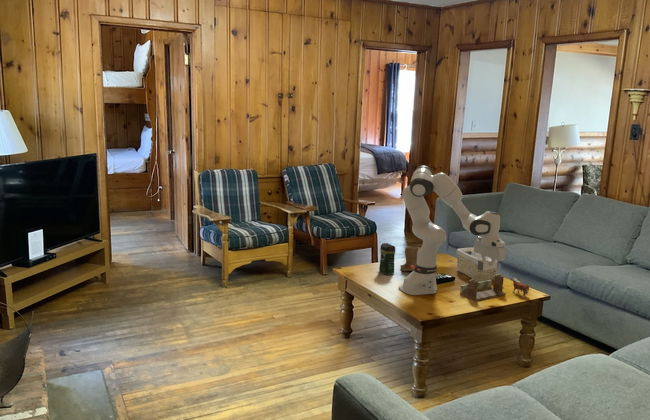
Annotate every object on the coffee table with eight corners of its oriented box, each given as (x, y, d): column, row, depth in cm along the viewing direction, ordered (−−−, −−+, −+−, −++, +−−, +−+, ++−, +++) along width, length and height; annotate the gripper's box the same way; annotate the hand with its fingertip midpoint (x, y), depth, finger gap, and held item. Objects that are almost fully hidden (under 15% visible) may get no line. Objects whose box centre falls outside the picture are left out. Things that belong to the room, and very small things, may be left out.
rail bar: (482, 270, 299) (482, 262, 298) (477, 268, 302) (478, 261, 301) (497, 267, 305) (498, 260, 304) (493, 265, 308) (493, 258, 307)
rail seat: (475, 301, 297) (477, 282, 295) (460, 294, 307) (461, 275, 305) (505, 294, 308) (507, 276, 306) (489, 288, 318) (491, 270, 316)
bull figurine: (513, 289, 318) (515, 276, 316) (529, 297, 305) (531, 284, 304) (507, 290, 316) (509, 276, 314) (523, 298, 304) (525, 284, 302)
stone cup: (416, 265, 356) (418, 243, 353) (425, 271, 345) (427, 248, 342) (395, 267, 351) (397, 245, 348) (403, 273, 340) (405, 250, 337)
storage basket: (498, 280, 333) (500, 257, 330) (476, 282, 327) (478, 259, 324) (475, 268, 355) (477, 246, 352) (453, 270, 349) (455, 248, 346)
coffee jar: (396, 274, 337) (397, 245, 334) (385, 275, 334) (386, 246, 330) (387, 269, 346) (389, 241, 342) (377, 271, 343) (378, 242, 339)
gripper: (472, 236, 307) (470, 259, 310) (499, 245, 290) (497, 270, 292) (480, 235, 310) (478, 258, 313) (508, 244, 293) (505, 268, 296)
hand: (487, 264), depth 303 cm, fingers closed on rail bar, 3 cm apart
